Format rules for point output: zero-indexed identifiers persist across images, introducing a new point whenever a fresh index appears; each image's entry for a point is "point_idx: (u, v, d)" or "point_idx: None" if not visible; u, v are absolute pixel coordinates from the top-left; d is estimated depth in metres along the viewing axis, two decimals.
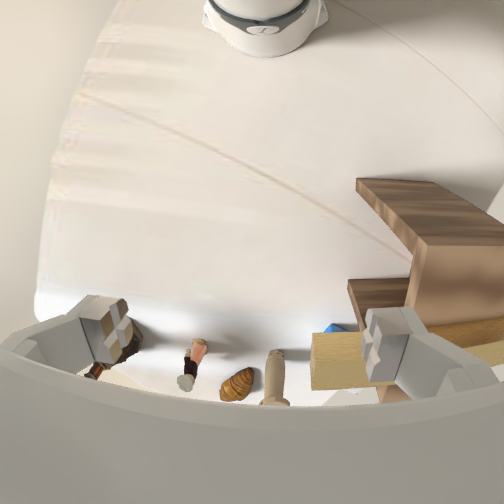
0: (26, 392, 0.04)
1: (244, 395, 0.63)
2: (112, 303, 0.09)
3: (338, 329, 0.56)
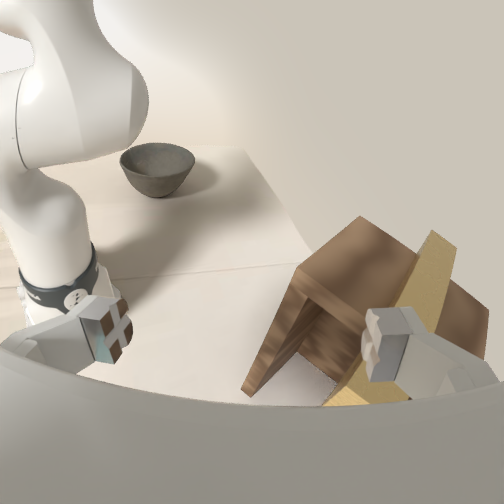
0: (26, 392, 0.04)
1: None
2: (112, 303, 0.09)
3: None
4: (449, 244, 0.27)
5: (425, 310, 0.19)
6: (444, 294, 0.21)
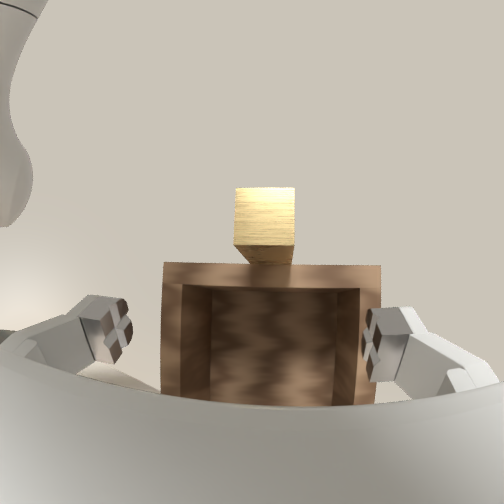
0: (26, 392, 0.04)
1: None
2: (112, 303, 0.09)
3: None
4: None
5: None
6: None
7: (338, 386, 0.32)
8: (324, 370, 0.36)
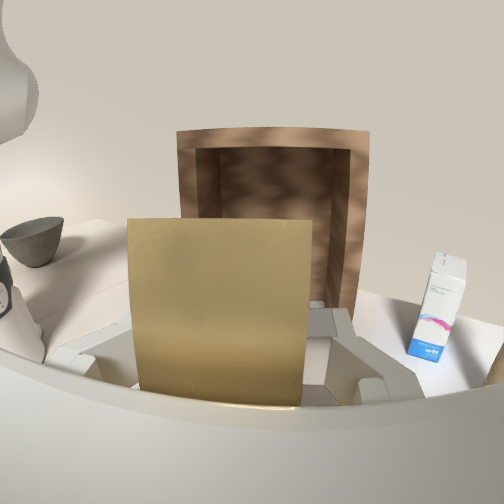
0: (26, 392, 0.04)
1: None
2: None
3: None
4: None
5: None
6: None
7: (334, 231, 0.40)
8: (322, 215, 0.43)
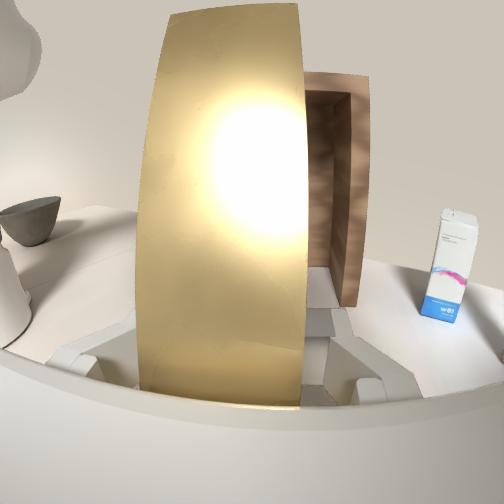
0: (26, 392, 0.04)
1: None
2: None
3: None
4: None
5: None
6: None
7: (337, 187, 0.38)
8: (324, 175, 0.41)
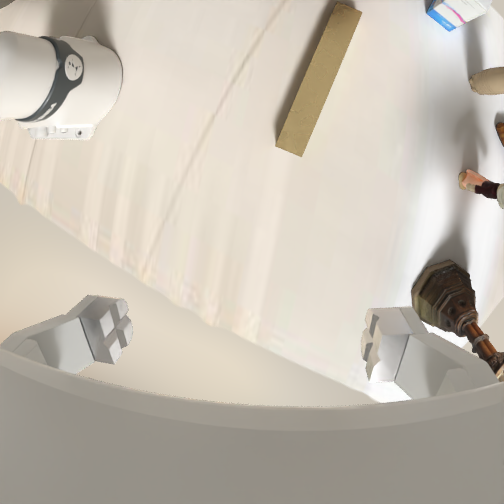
0: (26, 392, 0.04)
1: None
2: (112, 303, 0.09)
3: (431, 6, 0.27)
4: None
5: None
6: None
7: None
8: None
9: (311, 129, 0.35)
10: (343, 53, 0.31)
